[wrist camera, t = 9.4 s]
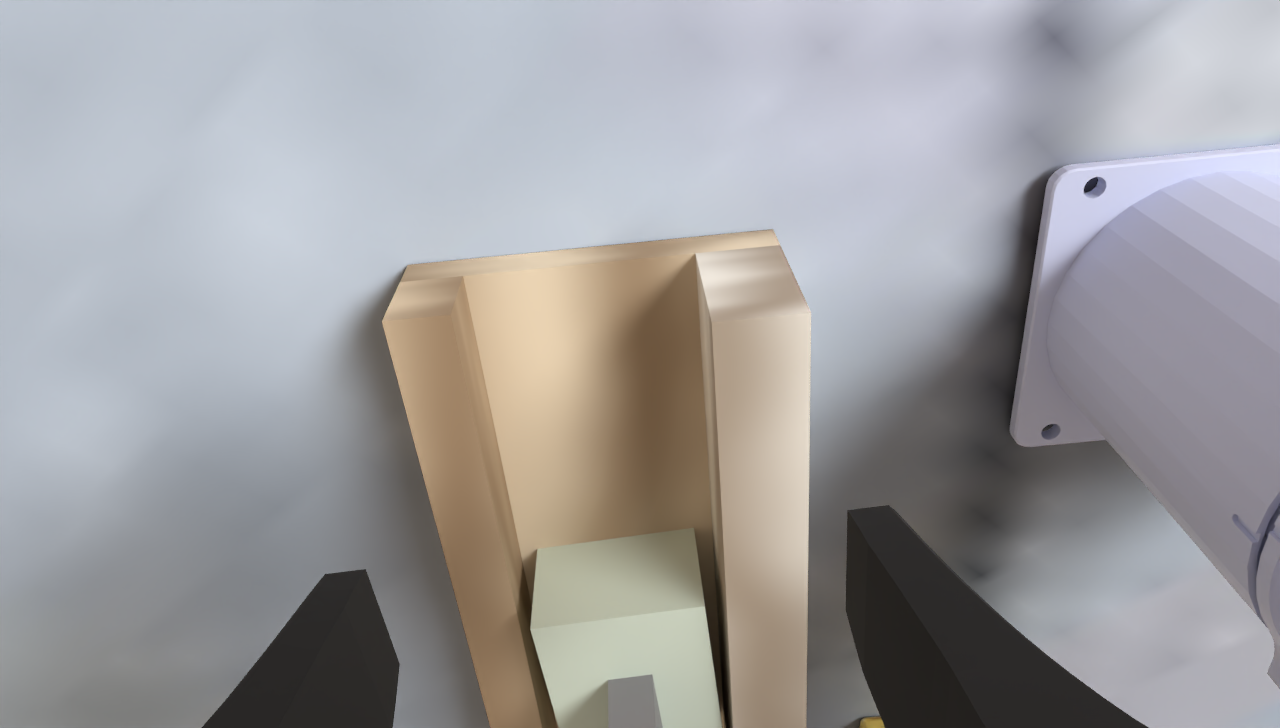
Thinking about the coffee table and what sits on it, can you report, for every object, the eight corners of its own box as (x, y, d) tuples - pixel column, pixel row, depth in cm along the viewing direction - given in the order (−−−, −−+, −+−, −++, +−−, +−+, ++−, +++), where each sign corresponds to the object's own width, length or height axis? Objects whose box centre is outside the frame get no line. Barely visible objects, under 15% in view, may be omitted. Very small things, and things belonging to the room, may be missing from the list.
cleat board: (772, 229, 22) (810, 312, 18) (779, 750, 32) (804, 875, 28) (407, 265, 22) (365, 355, 18) (530, 772, 32) (520, 901, 28)
